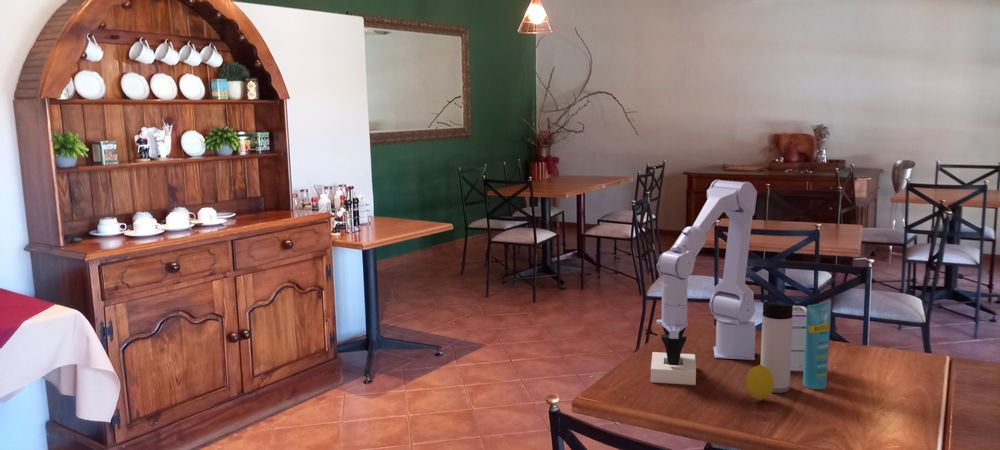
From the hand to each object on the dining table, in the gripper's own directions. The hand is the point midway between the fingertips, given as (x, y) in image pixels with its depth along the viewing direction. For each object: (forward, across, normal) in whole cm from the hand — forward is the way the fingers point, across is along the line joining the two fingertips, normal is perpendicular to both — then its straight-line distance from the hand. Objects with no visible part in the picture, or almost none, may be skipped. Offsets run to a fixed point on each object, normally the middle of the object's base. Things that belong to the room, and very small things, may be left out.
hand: (673, 359), depth 179 cm
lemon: (+4, +13, +18) cm, 23 cm away
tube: (+4, +2, +31) cm, 31 cm away
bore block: (+4, 0, 0) cm, 4 cm away
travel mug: (+4, +5, +22) cm, 23 cm away
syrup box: (+4, -10, +28) cm, 30 cm away
